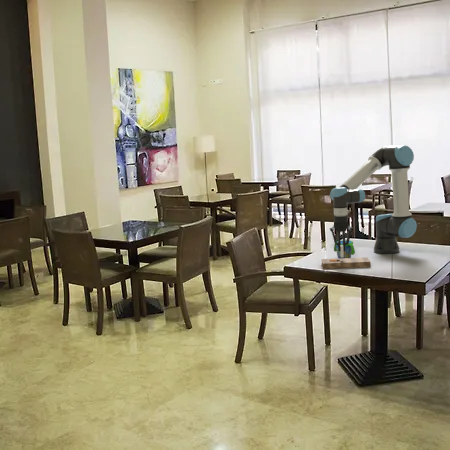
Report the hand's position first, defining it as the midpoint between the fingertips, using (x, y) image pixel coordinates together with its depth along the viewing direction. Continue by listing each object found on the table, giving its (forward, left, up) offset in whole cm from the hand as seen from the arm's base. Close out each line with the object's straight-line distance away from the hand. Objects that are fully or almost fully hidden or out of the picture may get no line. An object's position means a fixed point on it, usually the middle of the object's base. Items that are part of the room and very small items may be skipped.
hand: (342, 256), depth 326 cm
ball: (+5, 0, -3) cm, 6 cm away
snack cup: (-3, -19, -5) cm, 20 cm away
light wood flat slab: (-2, 0, -5) cm, 5 cm away
